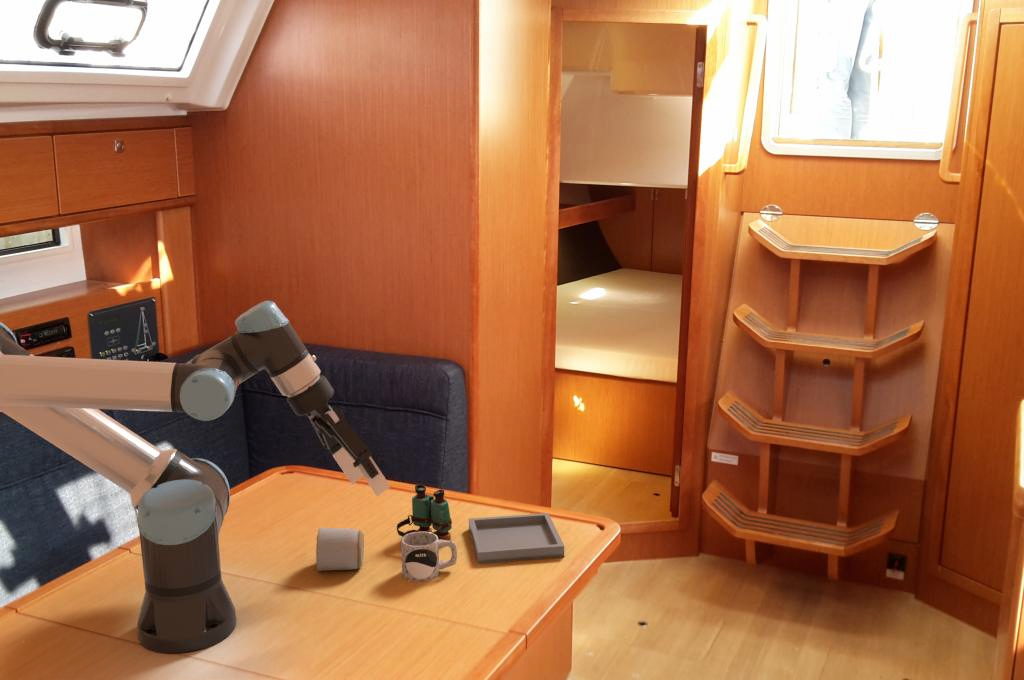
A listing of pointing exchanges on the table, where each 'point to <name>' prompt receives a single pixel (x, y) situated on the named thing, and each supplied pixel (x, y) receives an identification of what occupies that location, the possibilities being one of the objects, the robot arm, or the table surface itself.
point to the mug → (424, 556)
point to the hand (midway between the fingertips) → (370, 485)
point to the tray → (515, 538)
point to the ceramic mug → (339, 549)
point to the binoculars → (429, 514)
